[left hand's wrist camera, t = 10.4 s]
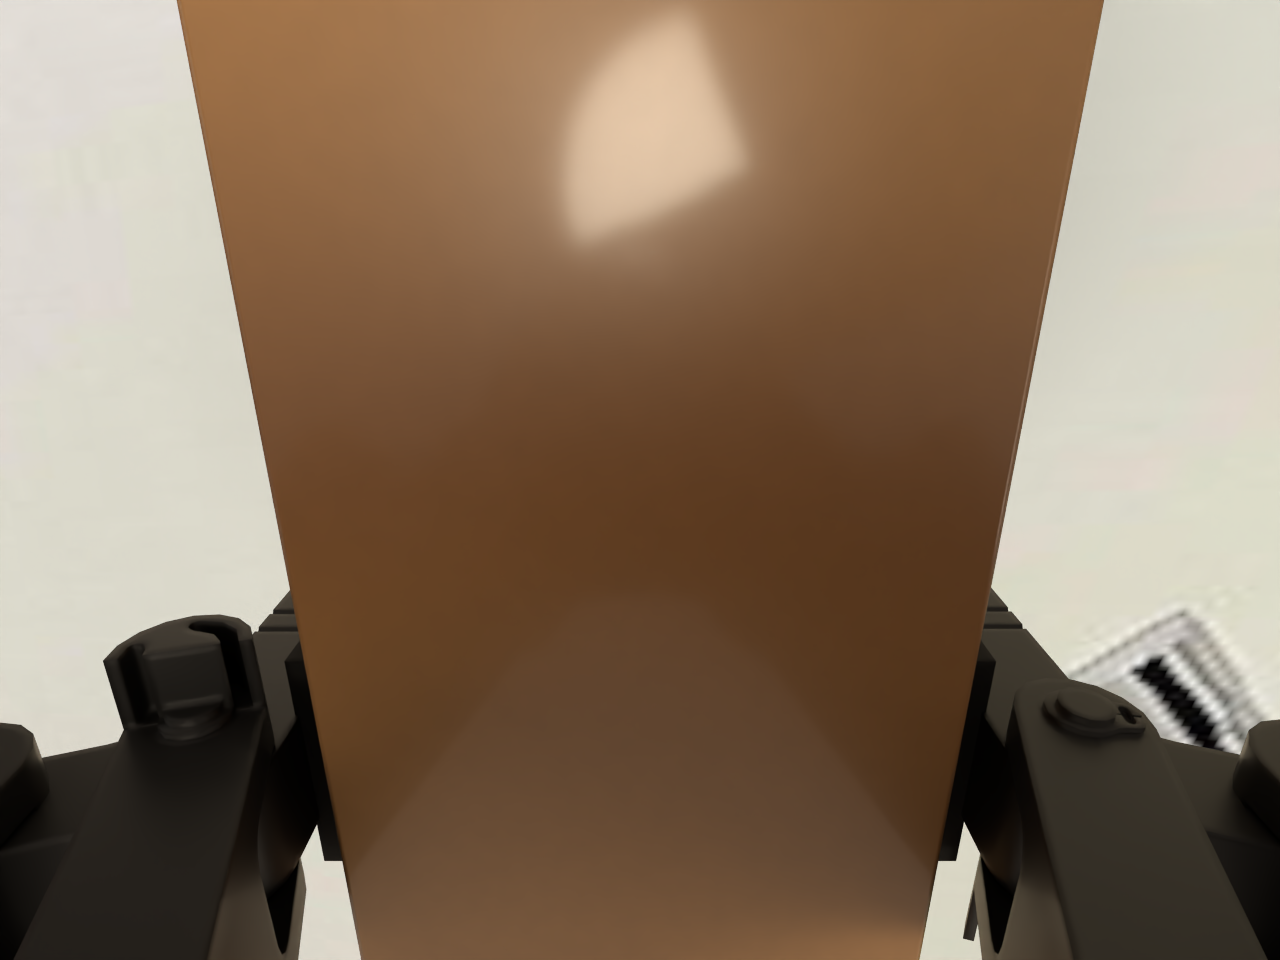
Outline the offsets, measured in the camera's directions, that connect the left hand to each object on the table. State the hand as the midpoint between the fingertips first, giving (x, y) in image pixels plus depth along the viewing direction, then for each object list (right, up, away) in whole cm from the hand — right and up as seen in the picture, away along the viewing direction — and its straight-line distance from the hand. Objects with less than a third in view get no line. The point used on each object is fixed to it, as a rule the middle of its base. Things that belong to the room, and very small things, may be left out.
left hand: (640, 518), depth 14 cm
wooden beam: (0, -22, +10) cm, 24 cm away
